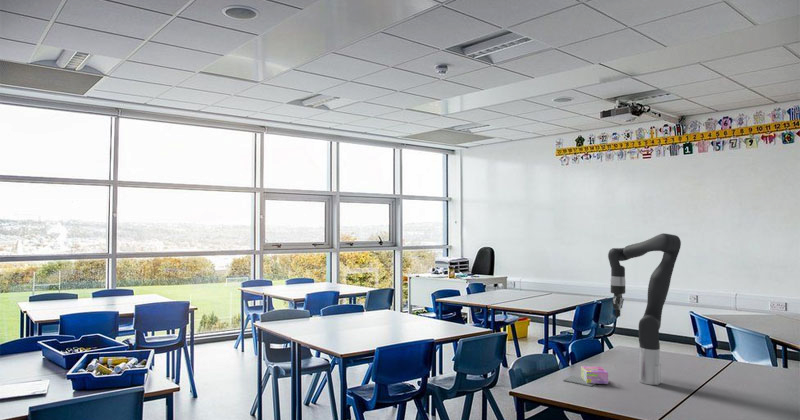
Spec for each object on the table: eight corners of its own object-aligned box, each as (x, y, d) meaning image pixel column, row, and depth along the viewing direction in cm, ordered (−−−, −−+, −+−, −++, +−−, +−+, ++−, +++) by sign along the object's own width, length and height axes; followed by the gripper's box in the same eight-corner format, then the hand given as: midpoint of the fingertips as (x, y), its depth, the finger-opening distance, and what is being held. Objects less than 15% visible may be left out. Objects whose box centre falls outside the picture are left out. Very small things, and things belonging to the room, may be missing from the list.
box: (601, 366, 273) (608, 372, 261) (601, 377, 273) (608, 384, 261) (580, 365, 274) (586, 371, 262) (580, 376, 274) (586, 383, 262)
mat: (598, 382, 266) (598, 381, 266) (591, 386, 258) (591, 385, 258) (571, 377, 275) (571, 375, 275) (563, 381, 267) (563, 379, 267)
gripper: (621, 286, 285) (621, 318, 285) (628, 284, 295) (628, 315, 295) (606, 284, 290) (606, 317, 290) (614, 283, 300) (614, 314, 300)
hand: (617, 316), depth 292 cm, fingers closed
